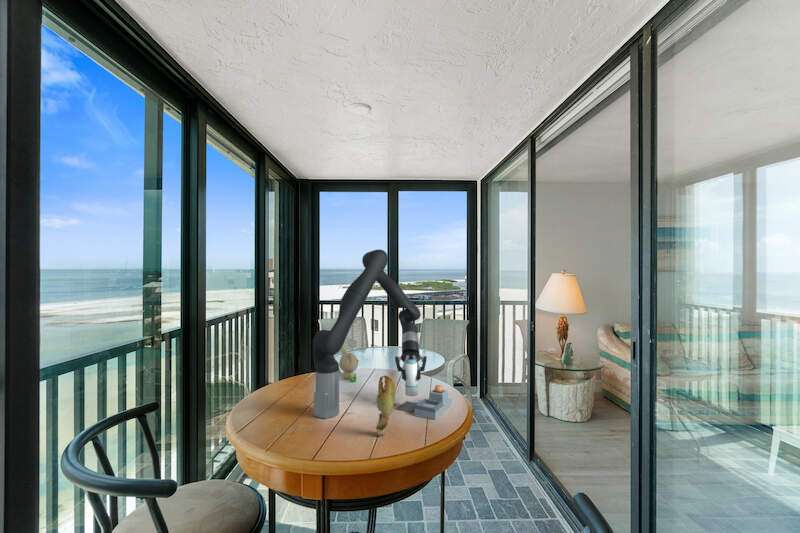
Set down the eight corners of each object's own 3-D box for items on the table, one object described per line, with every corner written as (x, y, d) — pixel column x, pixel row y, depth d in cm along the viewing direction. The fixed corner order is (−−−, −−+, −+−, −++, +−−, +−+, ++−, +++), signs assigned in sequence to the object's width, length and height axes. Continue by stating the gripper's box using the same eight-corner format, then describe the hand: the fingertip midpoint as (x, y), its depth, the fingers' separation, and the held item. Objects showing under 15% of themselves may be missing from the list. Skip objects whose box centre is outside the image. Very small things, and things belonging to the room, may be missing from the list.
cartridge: (414, 397, 144) (413, 362, 144) (403, 395, 146) (402, 361, 146) (419, 393, 148) (419, 359, 148) (408, 391, 151) (408, 358, 151)
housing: (435, 419, 135) (435, 403, 135) (414, 415, 140) (414, 400, 140) (451, 405, 150) (451, 391, 150) (432, 401, 154) (431, 387, 155)
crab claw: (396, 433, 124) (396, 375, 125) (391, 439, 119) (391, 379, 120) (378, 430, 127) (378, 373, 127) (372, 436, 122) (372, 377, 122)
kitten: (363, 380, 186) (363, 352, 187) (346, 383, 181) (346, 354, 182) (352, 374, 199) (351, 347, 200) (335, 376, 194) (335, 349, 194)
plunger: (440, 394, 148) (440, 387, 148) (433, 392, 149) (433, 386, 149) (443, 391, 150) (443, 385, 150) (436, 390, 152) (436, 384, 152)
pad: (416, 413, 141) (416, 413, 141) (395, 409, 146) (395, 408, 146) (427, 405, 150) (427, 405, 150) (406, 401, 155) (406, 401, 155)
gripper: (394, 339, 155) (393, 375, 143) (426, 339, 155) (429, 374, 143) (394, 349, 160) (394, 384, 148) (426, 348, 160) (428, 383, 148)
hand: (411, 379), depth 145 cm, fingers closed on cartridge, 5 cm apart
